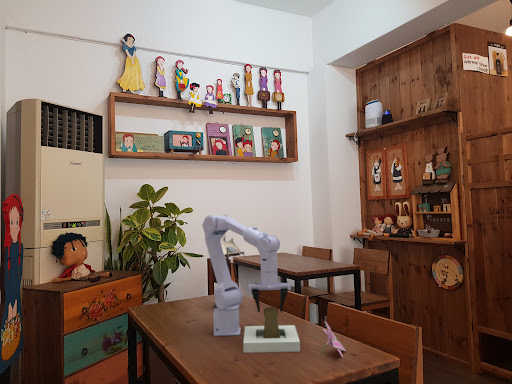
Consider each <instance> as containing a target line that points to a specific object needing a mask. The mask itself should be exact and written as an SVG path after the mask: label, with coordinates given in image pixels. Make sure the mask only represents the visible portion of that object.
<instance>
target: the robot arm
mask: <svg viewBox="0 0 512 384" xmlns="http://www.w3.org/2000/svg"><path fill="white" fill-rule="evenodd" d="M201 227H202V228H203V233H204V241H205V245H206V248H207V252H208V256H209V258H210V262H211V266H212V269H213V272H214V273H213V274H214V277H215V279H216V284H217V285H216V287H215V288H214V291H213V293H214V305H215V304H216V306H217V307H218V308H216V309H213V326H212V327H213V336H214V337H215V336H217V337H218V336H219V337H220V336H240V335H241V327H240V313H239V312H240V311H239V310H240V307H241V306H240V305H241V304H242V302H243V298H244V296H243V292H242V291H241V290H240V288H239V286H238V285H239V284H238V283H236V282H235V281H233V280H232V277H231V274H230V273H231V272H230V270H229V266H227V263H226V259H225V256H224V253H223V249H222V246H221V241H222V237H223V236H224V235H225V236H226V233H228V231H229V230H230V231H232V232H233V233H235V234H238V235H239V236H242V238H243V240H244V242H246V243H247V244H249V245H251V246H253V247H255V248H256V249H257V251H258V253H259V258H260V282H258V283H248V284H247V285H248V287H247V288H248V291H250V292H251V294H252V295H251V296H253V299H254V302H255V304H256V305H255V306H256V309H257V313H260V312H261V306H260V291H274V290H277V291H279V297H280V298H279V300H280V301H279V311H280V312H282V313H283V309H284V304H285V300H286V298H287V296H288V293H289V292H288V291H291V290H292V288H291V286H292V285H291V283H290V282H288V283H287V282H278V280H279V279H278V251H279V249H280V247H281V243H280V241H281V240H280V239H279V238H278V237H277V236H276V235H269V234H268V233H267V232H262V230H261V231H260V229H258V227H257V226H250V227H247V226H245V225H244V224H242V223H240V222H239V221H237V220H235V219H234V218H233V217H232V216H228V215H227V214H223V215H222V214H220V215H218V214H217V215H207V216H206V217H204V220H203V222H202V226H201ZM225 290H227V291H225Z"/></svg>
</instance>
